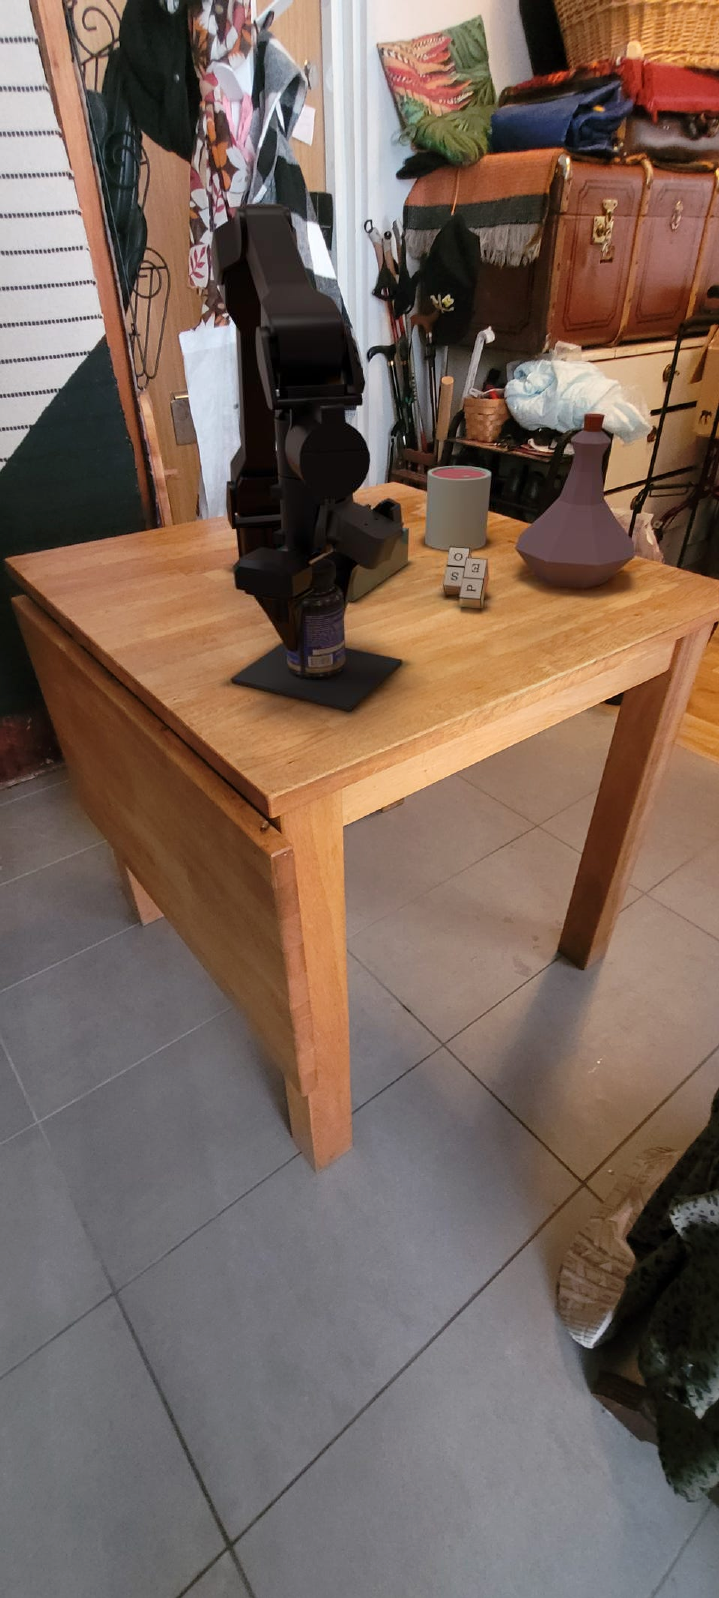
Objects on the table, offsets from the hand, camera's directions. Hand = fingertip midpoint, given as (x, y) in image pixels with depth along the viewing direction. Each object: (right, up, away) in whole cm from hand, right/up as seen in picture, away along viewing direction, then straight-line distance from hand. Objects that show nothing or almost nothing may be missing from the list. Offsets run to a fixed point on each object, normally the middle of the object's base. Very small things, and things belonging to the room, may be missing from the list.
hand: (316, 634), depth 79 cm
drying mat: (0, -4, +3) cm, 4 cm away
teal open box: (+2, +14, +27) cm, 31 cm away
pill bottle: (0, -3, +2) cm, 4 cm away
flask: (+33, +13, +26) cm, 44 cm away
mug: (+19, +24, +41) cm, 51 cm away
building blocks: (+18, +9, +20) cm, 28 cm away
